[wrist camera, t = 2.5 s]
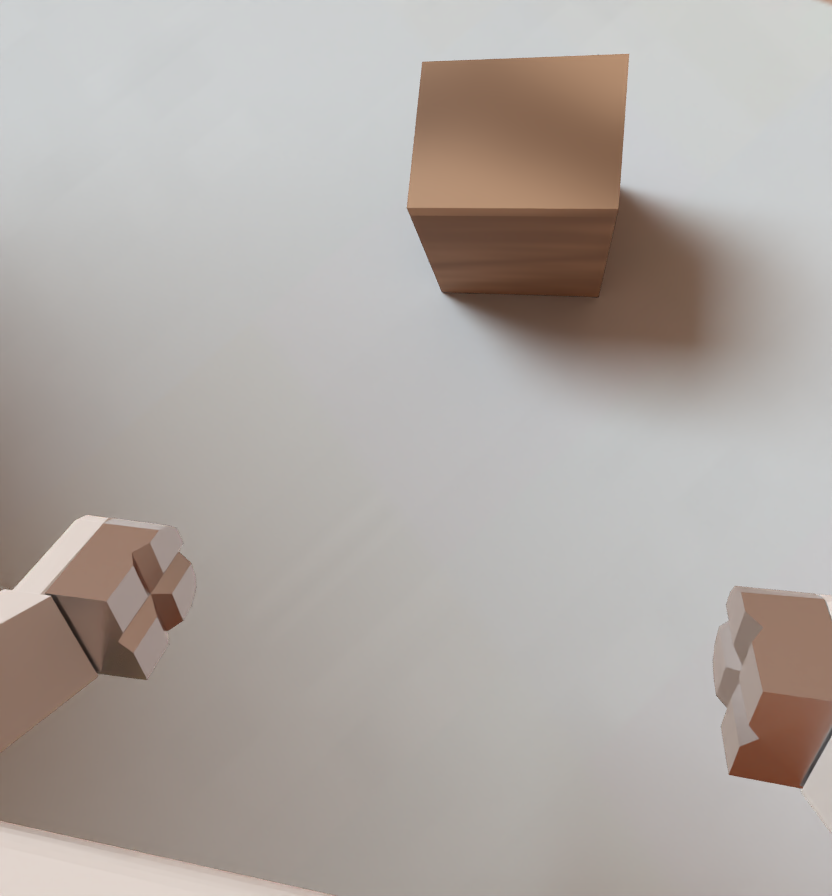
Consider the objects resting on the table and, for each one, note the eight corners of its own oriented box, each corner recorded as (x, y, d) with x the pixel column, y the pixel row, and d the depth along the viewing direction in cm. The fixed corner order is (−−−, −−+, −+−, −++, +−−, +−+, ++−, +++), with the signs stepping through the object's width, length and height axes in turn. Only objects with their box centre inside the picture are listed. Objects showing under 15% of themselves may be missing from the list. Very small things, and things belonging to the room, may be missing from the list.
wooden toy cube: (598, 296, 26) (618, 208, 19) (441, 292, 27) (406, 207, 20) (606, 180, 27) (628, 53, 20) (452, 181, 28) (422, 62, 21)
